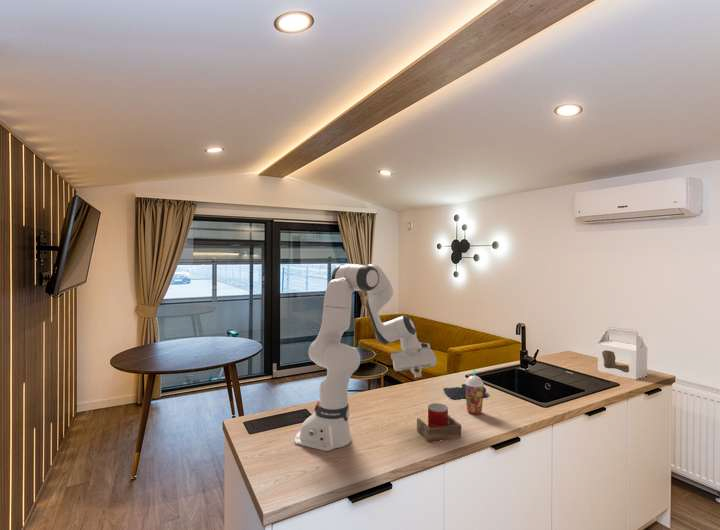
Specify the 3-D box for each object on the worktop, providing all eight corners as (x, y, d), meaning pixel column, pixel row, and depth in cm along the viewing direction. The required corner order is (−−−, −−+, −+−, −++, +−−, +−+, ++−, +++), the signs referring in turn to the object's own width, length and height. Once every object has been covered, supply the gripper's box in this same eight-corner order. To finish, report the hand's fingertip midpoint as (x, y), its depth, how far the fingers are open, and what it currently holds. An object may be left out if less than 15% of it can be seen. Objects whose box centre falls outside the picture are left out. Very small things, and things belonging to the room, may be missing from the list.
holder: (416, 430, 160) (416, 418, 160) (447, 426, 164) (447, 414, 164) (428, 442, 149) (428, 430, 149) (461, 437, 154) (461, 425, 154)
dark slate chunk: (439, 391, 208) (439, 382, 208) (476, 388, 212) (476, 379, 212) (452, 401, 193) (452, 392, 193) (491, 398, 198) (491, 389, 197)
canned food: (448, 438, 153) (448, 411, 153) (427, 436, 155) (427, 409, 154) (447, 429, 161) (447, 403, 160) (428, 428, 162) (428, 402, 162)
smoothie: (461, 410, 181) (461, 368, 180) (475, 408, 184) (476, 366, 183) (472, 417, 173) (472, 373, 172) (487, 414, 176) (487, 371, 175)
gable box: (597, 370, 243) (597, 327, 243) (608, 367, 250) (608, 325, 249) (636, 380, 224) (637, 332, 224) (647, 376, 231) (648, 330, 230)
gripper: (390, 349, 179) (396, 377, 170) (432, 343, 181) (441, 371, 172) (389, 355, 183) (395, 382, 175) (430, 349, 186) (438, 376, 177)
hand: (418, 376), depth 174 cm, fingers closed
